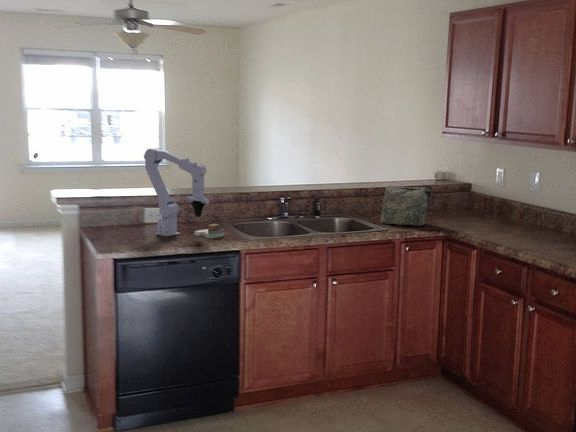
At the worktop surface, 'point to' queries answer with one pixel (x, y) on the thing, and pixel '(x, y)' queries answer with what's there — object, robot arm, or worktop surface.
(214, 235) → the board
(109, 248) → the worktop surface
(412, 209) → the lunch bag
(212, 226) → the walnut block
